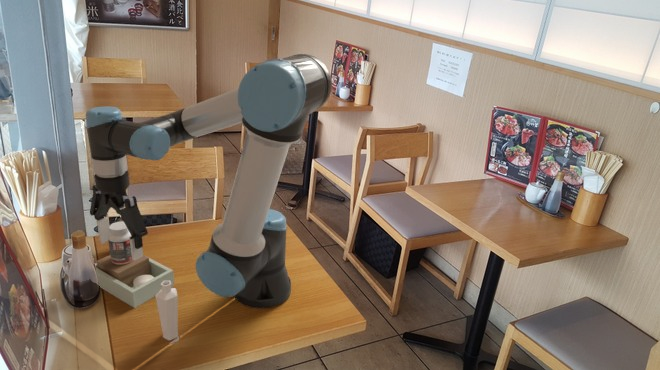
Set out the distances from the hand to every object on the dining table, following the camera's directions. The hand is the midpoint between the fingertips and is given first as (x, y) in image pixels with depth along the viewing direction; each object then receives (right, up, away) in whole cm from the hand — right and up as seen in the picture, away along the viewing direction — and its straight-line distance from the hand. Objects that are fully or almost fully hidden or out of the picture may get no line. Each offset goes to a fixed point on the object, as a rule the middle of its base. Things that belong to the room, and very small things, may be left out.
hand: (121, 249), depth 119 cm
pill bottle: (0, -3, +1) cm, 3 cm away
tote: (+2, -10, +3) cm, 10 cm away
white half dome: (+6, -10, 0) cm, 12 cm away
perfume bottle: (+17, -18, -14) cm, 29 cm away
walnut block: (-1, -8, +4) cm, 9 cm away
